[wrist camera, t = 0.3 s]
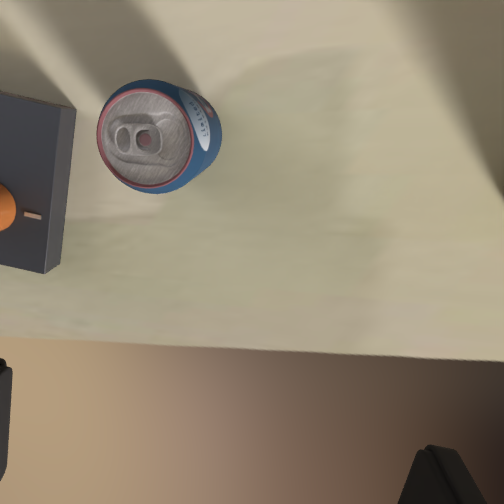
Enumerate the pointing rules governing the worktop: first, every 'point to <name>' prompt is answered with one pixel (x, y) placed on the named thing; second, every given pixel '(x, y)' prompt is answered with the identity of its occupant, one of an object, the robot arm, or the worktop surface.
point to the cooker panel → (35, 179)
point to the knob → (6, 208)
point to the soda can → (157, 135)
